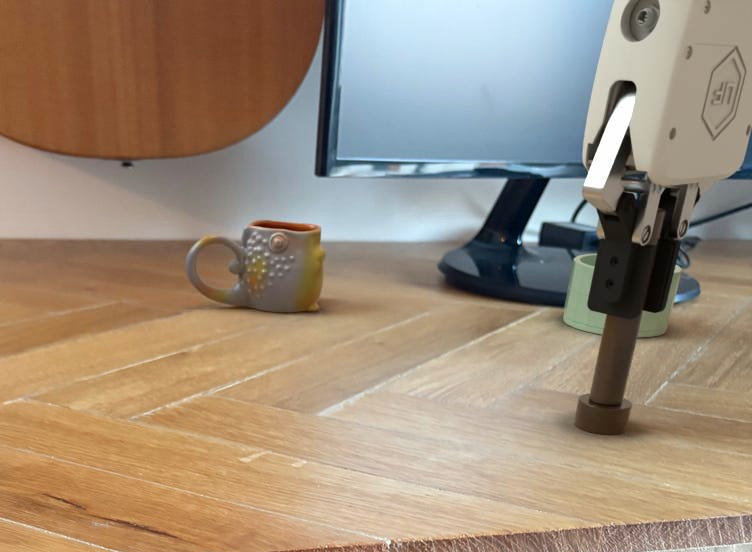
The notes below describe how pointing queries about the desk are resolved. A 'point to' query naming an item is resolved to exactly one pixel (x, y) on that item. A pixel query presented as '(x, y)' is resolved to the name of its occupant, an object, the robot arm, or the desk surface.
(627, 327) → the stick
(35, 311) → the desk surface
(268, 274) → the mug
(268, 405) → the desk surface
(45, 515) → the desk surface
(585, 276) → the bowl
